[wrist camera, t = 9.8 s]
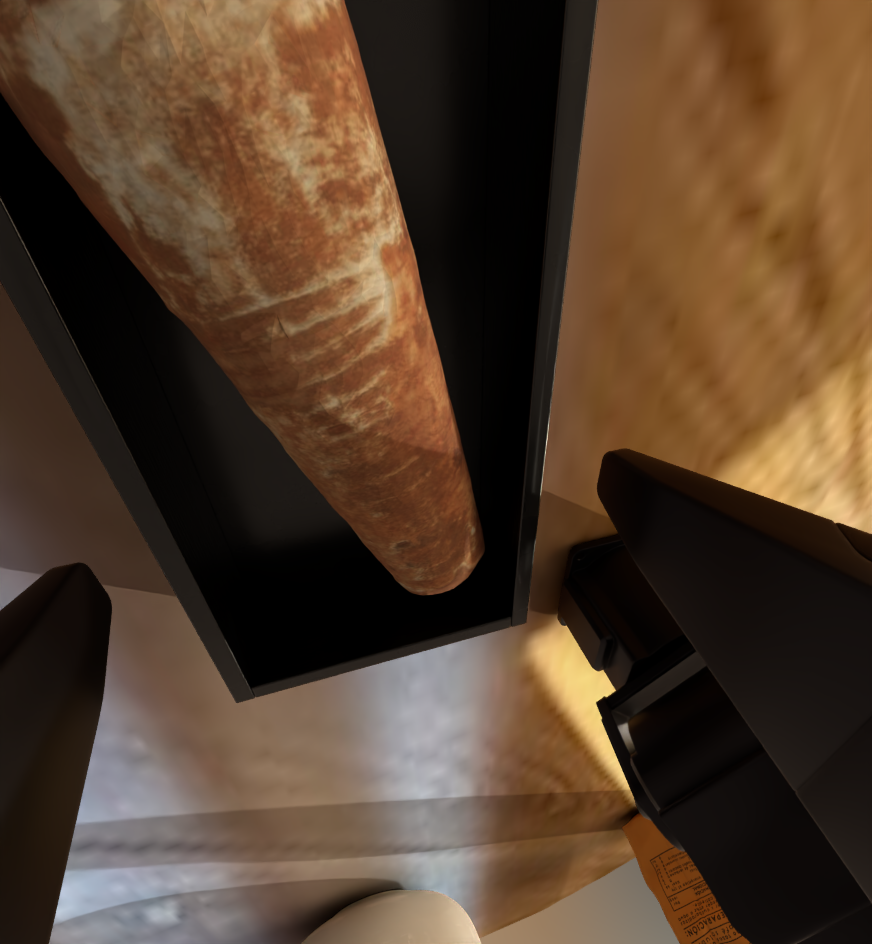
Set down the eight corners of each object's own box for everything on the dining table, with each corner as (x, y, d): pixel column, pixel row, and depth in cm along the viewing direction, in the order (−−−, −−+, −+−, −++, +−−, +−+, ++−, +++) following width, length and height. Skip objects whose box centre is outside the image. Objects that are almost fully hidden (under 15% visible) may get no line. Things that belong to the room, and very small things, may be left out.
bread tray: (514, -234, 10) (651, -440, 6) (487, 549, 24) (526, 623, 20) (-165, -308, 8) (-551, -699, 4) (241, 608, 21) (236, 704, 18)
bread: (288, -102, 10) (304, -290, 5) (484, 517, 22) (539, 614, 17) (-6, 2, 9) (-240, -111, 5) (356, 571, 21) (379, 684, 17)
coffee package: (639, 832, 66) (769, 1079, 49) (608, 821, 58) (749, 1109, 41) (701, 797, 64) (859, 1040, 47) (678, 781, 57) (855, 1063, 40)
